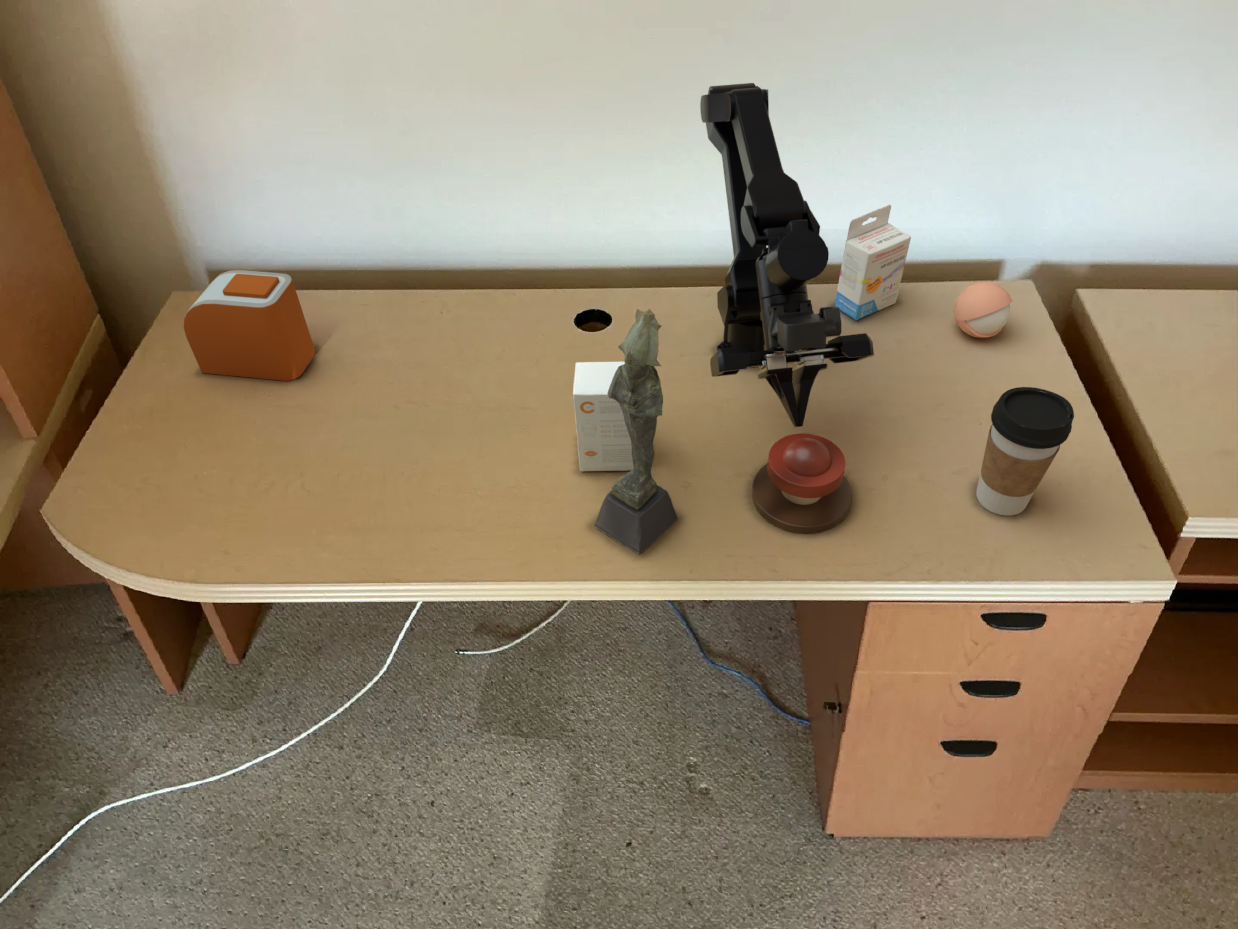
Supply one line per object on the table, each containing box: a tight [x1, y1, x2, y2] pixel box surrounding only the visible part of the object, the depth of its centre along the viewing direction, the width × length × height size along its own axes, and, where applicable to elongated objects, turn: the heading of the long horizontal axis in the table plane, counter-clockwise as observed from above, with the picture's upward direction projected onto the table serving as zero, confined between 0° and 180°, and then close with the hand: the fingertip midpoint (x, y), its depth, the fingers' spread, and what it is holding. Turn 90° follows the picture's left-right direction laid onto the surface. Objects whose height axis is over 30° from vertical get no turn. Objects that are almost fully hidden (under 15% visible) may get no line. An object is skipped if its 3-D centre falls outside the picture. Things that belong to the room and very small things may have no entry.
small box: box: [572, 361, 633, 472], centre depth 117 cm, size 8×6×13 cm
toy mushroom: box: [751, 432, 853, 534], centre depth 112 cm, size 12×12×9 cm
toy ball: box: [953, 281, 1013, 339], centre depth 135 cm, size 8×8×8 cm
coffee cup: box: [975, 386, 1075, 517], centre depth 109 cm, size 8×8×15 cm
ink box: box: [834, 204, 912, 321], centre depth 138 cm, size 8×5×15 cm, turn 123°
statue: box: [594, 308, 679, 555], centre depth 102 cm, size 7×8×30 cm
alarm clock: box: [183, 269, 316, 382], centre depth 133 cm, size 15×8×14 cm, turn 80°
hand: (798, 426), depth 113 cm, fingers closed
